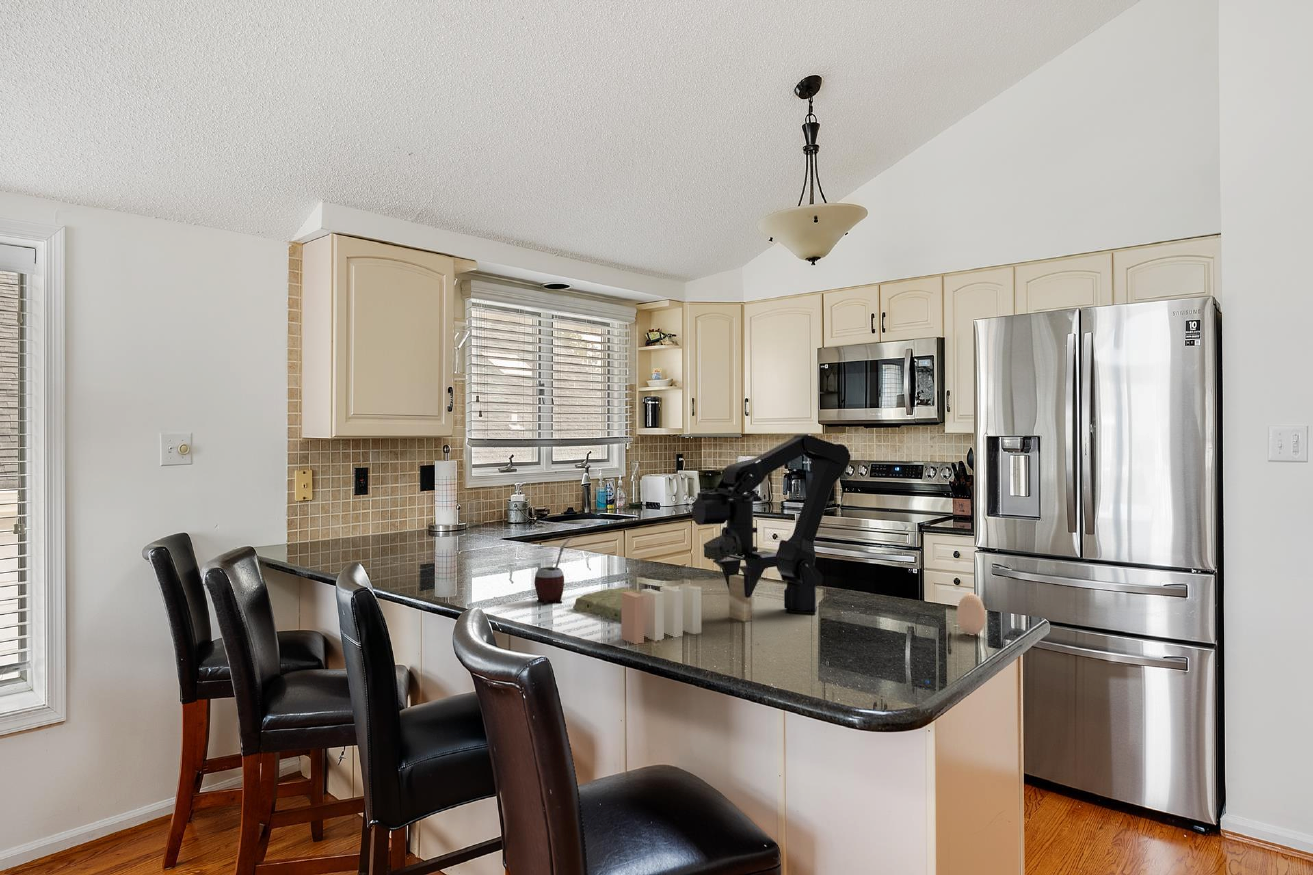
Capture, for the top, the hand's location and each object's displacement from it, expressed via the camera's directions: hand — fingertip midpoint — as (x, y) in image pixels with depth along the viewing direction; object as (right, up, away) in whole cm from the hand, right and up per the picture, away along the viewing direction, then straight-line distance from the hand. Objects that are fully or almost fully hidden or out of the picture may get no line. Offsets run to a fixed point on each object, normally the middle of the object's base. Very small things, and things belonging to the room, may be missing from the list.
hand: (739, 595), depth 156 cm
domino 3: (-15, -5, -12) cm, 20 cm away
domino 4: (-11, -5, -10) cm, 16 cm away
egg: (+44, -5, -13) cm, 46 cm away
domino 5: (0, -5, 0) cm, 5 cm away
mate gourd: (-43, -5, +16) cm, 46 cm away
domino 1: (-23, -5, -17) cm, 29 cm away
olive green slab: (-25, -6, +9) cm, 27 cm away
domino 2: (-19, -5, -15) cm, 24 cm away
